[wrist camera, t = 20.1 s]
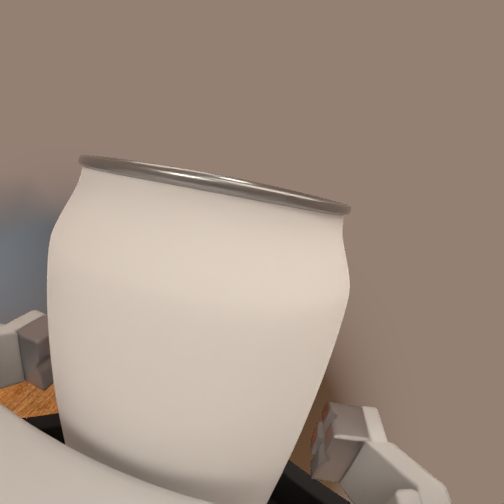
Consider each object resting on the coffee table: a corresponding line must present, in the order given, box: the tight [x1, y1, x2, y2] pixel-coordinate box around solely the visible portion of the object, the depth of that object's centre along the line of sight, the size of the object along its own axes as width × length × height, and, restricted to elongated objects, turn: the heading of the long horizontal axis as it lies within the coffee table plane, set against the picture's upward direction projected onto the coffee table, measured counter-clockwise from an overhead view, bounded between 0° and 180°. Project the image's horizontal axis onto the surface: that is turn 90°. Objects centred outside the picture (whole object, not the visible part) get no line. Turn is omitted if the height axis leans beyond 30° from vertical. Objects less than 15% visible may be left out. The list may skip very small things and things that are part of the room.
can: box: [47, 155, 351, 504], centre depth 8 cm, size 6×6×12 cm
